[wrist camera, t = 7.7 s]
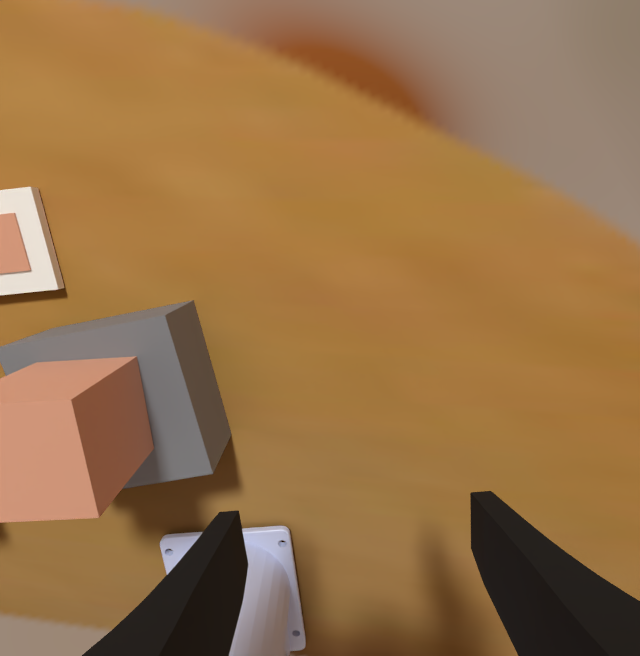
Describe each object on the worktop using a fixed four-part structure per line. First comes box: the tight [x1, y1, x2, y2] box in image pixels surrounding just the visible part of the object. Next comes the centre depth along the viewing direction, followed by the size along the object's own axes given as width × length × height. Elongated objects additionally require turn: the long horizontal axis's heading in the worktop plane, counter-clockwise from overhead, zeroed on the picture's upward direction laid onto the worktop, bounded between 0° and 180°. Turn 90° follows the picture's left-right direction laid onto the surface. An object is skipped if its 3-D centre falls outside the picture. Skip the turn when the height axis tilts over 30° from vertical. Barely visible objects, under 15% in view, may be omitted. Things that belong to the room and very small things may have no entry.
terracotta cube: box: [0, 356, 154, 523], centre depth 16 cm, size 5×5×5 cm
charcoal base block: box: [0, 300, 231, 489], centre depth 20 cm, size 8×8×4 cm
